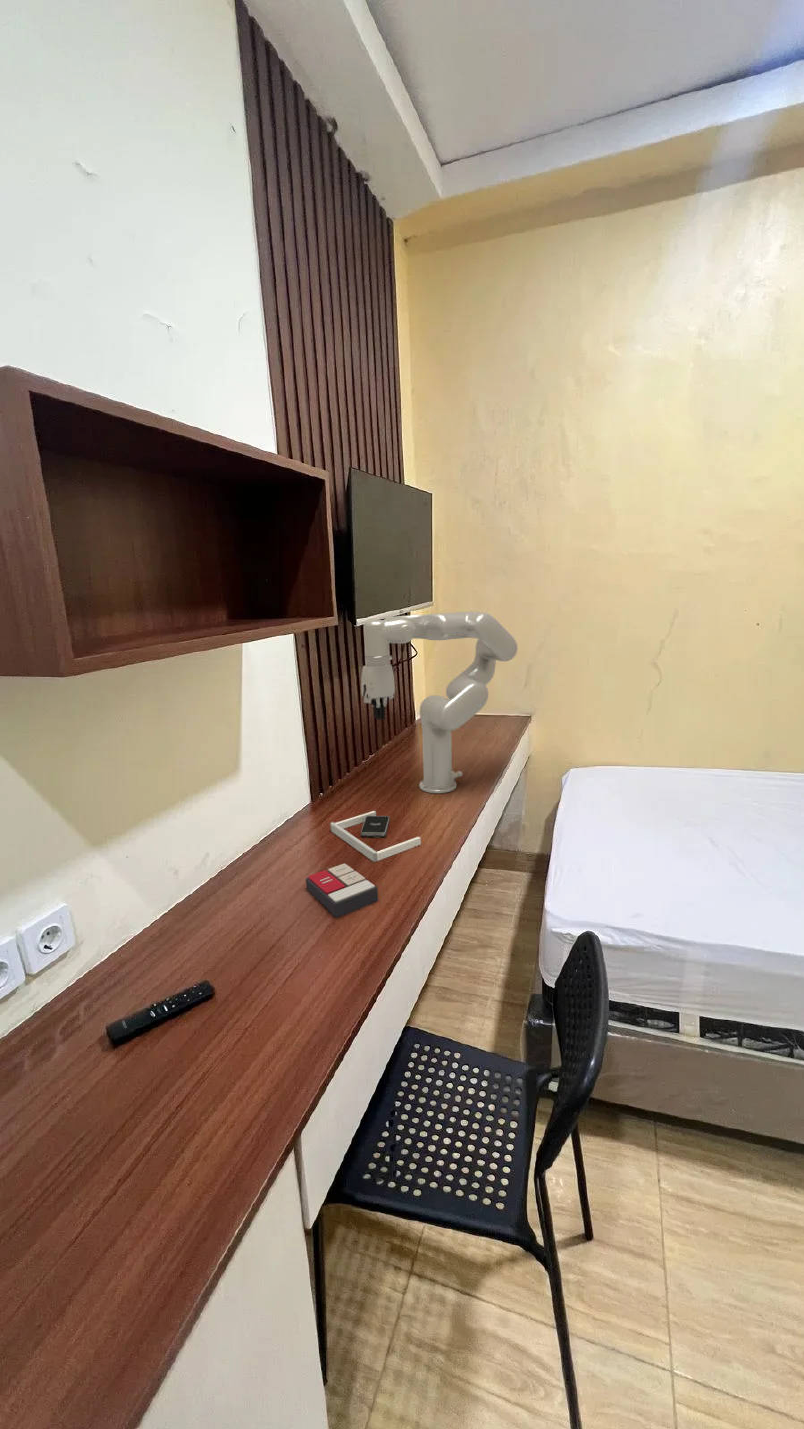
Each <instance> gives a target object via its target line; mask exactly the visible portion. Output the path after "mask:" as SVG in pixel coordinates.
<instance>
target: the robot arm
mask: <svg viewBox="0 0 804 1429" xmlns="http://www.w3.org/2000/svg"><path fill="white" fill-rule="evenodd" d="M363 638H364V639H363V641H364V662H365V665H363V666H362V670H361V680H360V681H361V682H360V683H361V684H360V686H361V688H360V690H361V692H360V693H361V696H362V697H363V703H365V704H370V705H371V706H372V707H373V713H374V719H376V720H379V721H382V720H385V719H386V707H387V704H388V702H389V701H390V700H392V699H394V698H395V695H394V694H395V689H396V688H395V687H396V686H395V685H396V684H395V676H394V670H393V666H392V664H391V660H393V656H392V655H391V654H390V644H407V643H409V642H411V641H412V640H413V639H416V640H417V639H418V640H419V639H420V640H421V639H422V640H428V641H449V640H458V639H460V640H461V639H477V640H476V643H475V653H474V654H475V655H474V659H473V661H472V663H471V664H470V665H469V666H468V667H467V668H466V669H465V670H464V671H462V672H461V673H460V674H459V675H457V676H456V677H455V678H454V679H453V680H451V681H450V682H449V683H448V685H447V686H446V688H445V694H446V697H447V698H446V697H444V696H440V695H436V694H435V695H429V696H427V697H425V698H424V699H423V700H422V701H421V703H420V706H419V717H420V723H421V729H422V760H423V761H422V762H423V780H421V781H420V782H419V783H418V784H419V789H420V790H421V791H423V792H426V793H428V794H445V793H450V792H453V791H454V790H455V789H456V788H457V782H456V781H455V780H456V779H457V778H460V777H463V772H462V771H461V770H459V771H456V772H455V771H454V770H453V769H452V767H453V766H452V732H453V731H455V730H457V729H460V728H461V727H462V726H463V725H465V723H467V722H468V721H469V720H471V718H473V717H474V716H475V715H476V714H477V713H478V712H480V711H481V710H482V709H483V707H484V706H485V705H486V704H487V702H488V699H489V690H488V687H487V685H488V684H489V683H490V682H491V681H492V679H493V678H494V675H495V670H496V665H497V664H496V662H497V661H499V662H508V661H510V660H513V659H514V658H515V657H516V656H517V653H518V643H517V641H516V639H515V637H514V636H513V635H512V634H511V633H510V632H509V631H508V630H507V629H506V628H505V627H504V626H503V625H502V624H501V623H500V622H499V621H498V620H497V619H496V618H494V616H492V615H491V614H489V613H488V612H480V611H459V612H445V613H444V612H442V613H441V612H440V613H427V614H416V615H415V614H414V615H399V616H398V615H397V616H389V617H386V618H384V619H371V620H367V621H365V622H364V623H363ZM451 731H452V732H451Z"/></svg>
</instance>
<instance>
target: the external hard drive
mask: <svg viewBox="0 0 804 1429" xmlns="http://www.w3.org/2000/svg"><path fill="white" fill-rule="evenodd" d="M389 824H390V816H388V815H376V816H366V819H365V821H364V822H363V825H362V827H361V830H360V837H361V838H368V839H369V838H376V839H377V838H378V839H379V838H380V837H381V839H382V838H383V839H385V838H386V837H387V832H388V828H389Z"/></svg>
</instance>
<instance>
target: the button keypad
mask: <svg viewBox="0 0 804 1429" xmlns="http://www.w3.org/2000/svg"><path fill="white" fill-rule="evenodd" d="M305 886H306V890H307V891H308V892H309V893H311V895H312V896H314V898H315V899H316V900H318V901H319V903H321V904H322V905H323V906H324V907H325V908H326V910H327V911H328V912H329V913H330V914H331V915H332V916H333V917H334V918H336V919H337V918H340V917H343V916H345V915H348V914H350V913H353V912H354V911H358V910H359V909H362V908H364V907H367V906H370V905H371V904H374V903H377V902H379V891H378V890H379V889H378V886H376V885H375V884H374V883H372V882H371V881H370V880H369V879H367V878H365V877H364V876H363V875H362V874H360V873H359V872H358V871H356V870H355V869H353V868H352V867H351V866H349V865H348V864H346V863H342V864H339V865H338V864H337V866H333V867H329V868H328V869H327V870H321V871H319V872H317V873H316V872H315V873H313V874H310V875H309V876H307V877H306V878H305Z"/></svg>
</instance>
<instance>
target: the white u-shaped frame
mask: <svg viewBox="0 0 804 1429" xmlns="http://www.w3.org/2000/svg"><path fill="white" fill-rule="evenodd" d="M366 816H377V811H376V810H372V811H369V812H366V813H363V814H359V815H357V816H353V817H350V818H347V819H343V820H340V821H337V822H334V821H332V822H330V824H329V825H330V831H331V833H332V834H335V836H337V837H338V838H340V839H341V840H342V841H344V842H346V843H347V844H348V845H349V846H351V847H352V848H354V849H355V850H357V851H358V852H360V853H361V854H362V855H364V856H365V857H366V858H368V859H369V860H370V861H372V862H374V863H376V862H378V861H381V860H384V859H386V858H390V857H391V856H394V855H398V854H400V853H402V852H405V851H408V850H410V849H413V848H415V846H416V847H418V845H419V846H421V844H422V842H421V841H422V840H421V839H422V838H421V837H420V836H416V837H414V838H410V839H408V840H405V841H403V842H400V843H396V844H394V845H392V846H389V847H387V848H383V849H381V850H379V851H376V850H375V849H373V848H372V847H370V846H369V845H367V844H366V843H365V842H363V841H361V840H360V839H358V838H357V837H355V836H354V835H352V833H350V832H349V831H348V830H346V829H347V828H349V827H353V826H356V825H359V824H362V823H364V821H365V819H366Z"/></svg>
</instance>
